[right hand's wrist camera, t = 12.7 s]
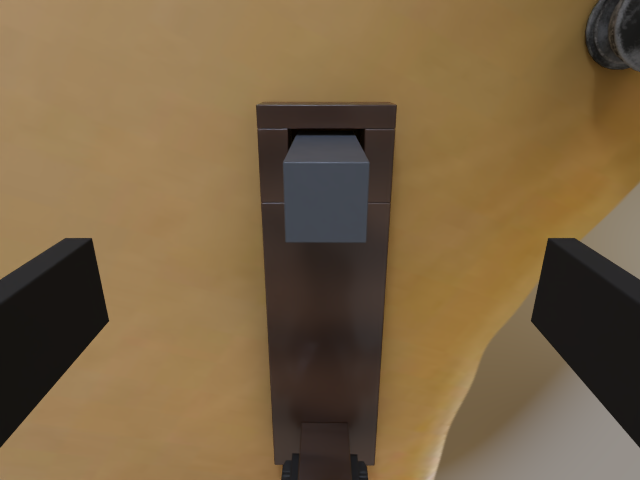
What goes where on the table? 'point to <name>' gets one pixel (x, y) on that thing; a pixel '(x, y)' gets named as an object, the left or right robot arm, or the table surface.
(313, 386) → the walnut plank
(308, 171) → the grey peg
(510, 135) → the table surface
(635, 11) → the grey chess piece
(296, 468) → the left robot arm
